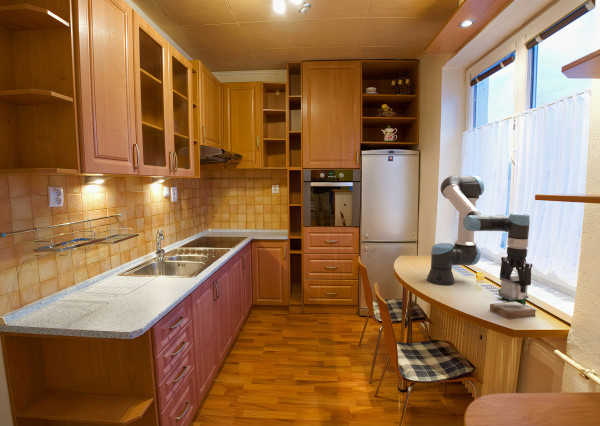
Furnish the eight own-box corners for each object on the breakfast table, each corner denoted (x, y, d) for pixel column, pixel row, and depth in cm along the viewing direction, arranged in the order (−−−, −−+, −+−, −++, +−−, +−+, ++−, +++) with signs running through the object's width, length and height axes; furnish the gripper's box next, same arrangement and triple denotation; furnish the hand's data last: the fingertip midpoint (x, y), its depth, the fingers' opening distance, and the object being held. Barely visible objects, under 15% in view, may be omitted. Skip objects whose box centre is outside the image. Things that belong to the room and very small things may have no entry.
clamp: (502, 306, 157) (495, 289, 159) (513, 304, 157) (505, 286, 160) (517, 307, 145) (508, 288, 148) (528, 304, 145) (520, 285, 148)
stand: (489, 310, 142) (490, 303, 142) (514, 307, 146) (515, 300, 146) (508, 319, 133) (509, 312, 132) (535, 316, 136) (535, 309, 136)
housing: (498, 295, 140) (499, 277, 139) (516, 293, 143) (517, 275, 142) (509, 300, 134) (511, 281, 133) (528, 298, 137) (529, 279, 136)
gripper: (492, 243, 145) (489, 289, 147) (531, 252, 126) (526, 304, 128) (505, 242, 146) (501, 288, 148) (544, 251, 128) (540, 303, 130)
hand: (513, 296), depth 138 cm, fingers closed on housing, 6 cm apart
